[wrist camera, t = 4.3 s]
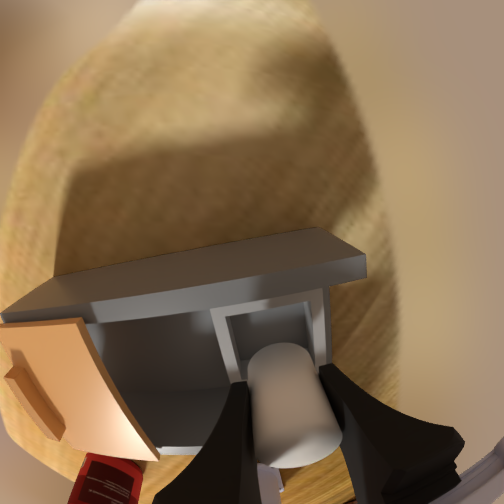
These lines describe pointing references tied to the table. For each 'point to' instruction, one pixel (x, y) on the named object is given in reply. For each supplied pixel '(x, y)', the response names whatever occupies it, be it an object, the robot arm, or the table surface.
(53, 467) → the table surface
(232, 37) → the table surface
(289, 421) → the white rounded piece
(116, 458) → the canned food
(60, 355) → the lid
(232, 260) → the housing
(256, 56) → the table surface
